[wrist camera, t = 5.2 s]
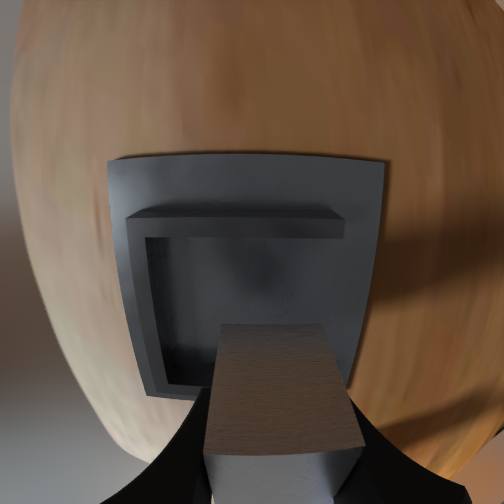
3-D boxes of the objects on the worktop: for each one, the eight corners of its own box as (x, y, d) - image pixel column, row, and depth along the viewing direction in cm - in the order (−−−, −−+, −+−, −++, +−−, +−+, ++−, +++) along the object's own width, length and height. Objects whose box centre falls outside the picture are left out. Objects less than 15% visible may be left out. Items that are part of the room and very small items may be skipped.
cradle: (340, 391, 22) (349, 417, 19) (148, 389, 22) (139, 414, 19) (379, 162, 16) (402, 165, 13) (113, 160, 16) (88, 163, 13)
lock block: (306, 404, 13) (325, 508, 7) (225, 405, 13) (217, 513, 7) (321, 323, 11) (365, 445, 6) (221, 323, 11) (202, 453, 6)
